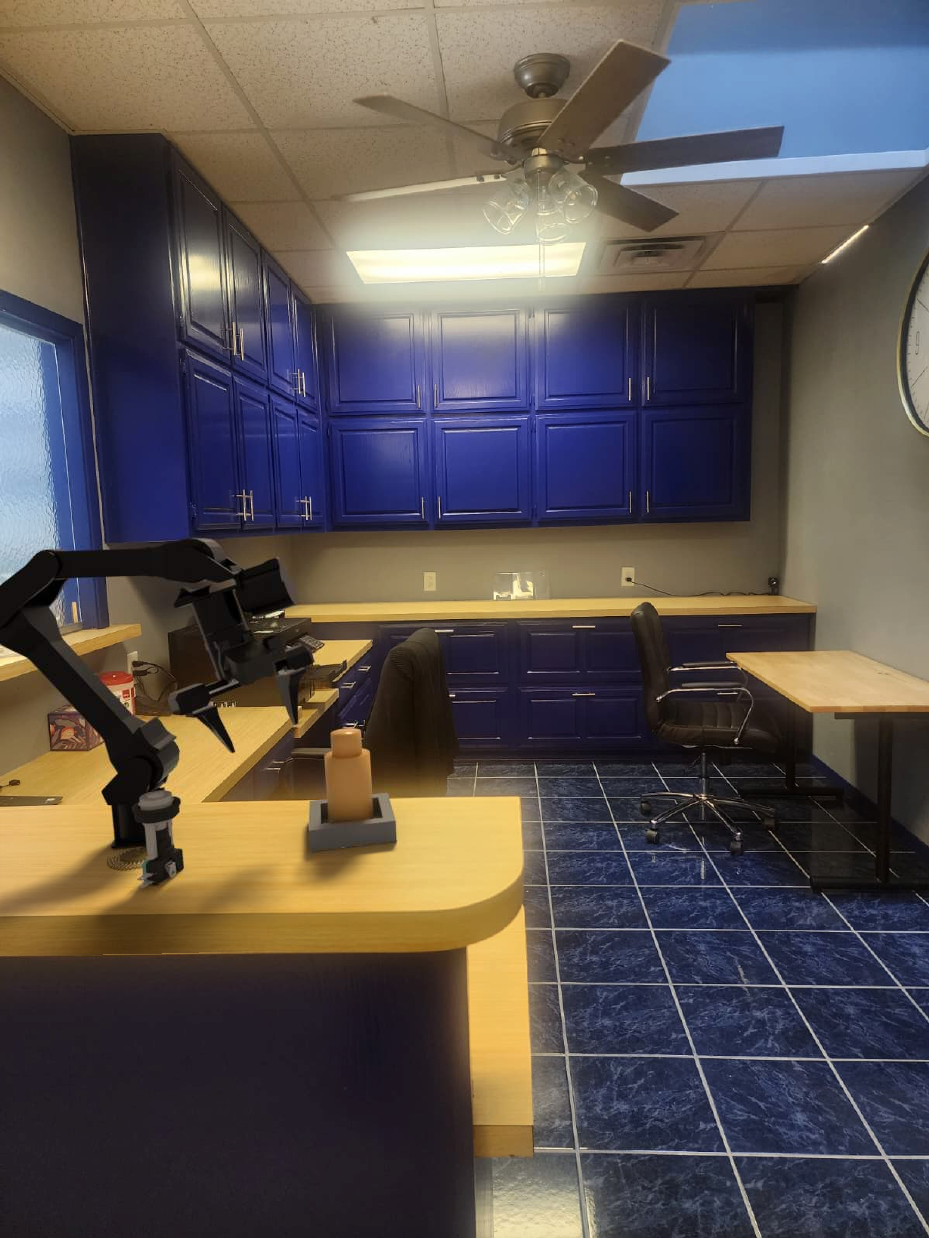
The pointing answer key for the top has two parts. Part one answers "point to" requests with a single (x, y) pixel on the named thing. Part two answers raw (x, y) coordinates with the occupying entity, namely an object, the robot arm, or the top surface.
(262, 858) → the top surface
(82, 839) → the top surface
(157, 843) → the push button
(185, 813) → the top surface
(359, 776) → the peach lotion bottle
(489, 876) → the top surface
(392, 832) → the socket
